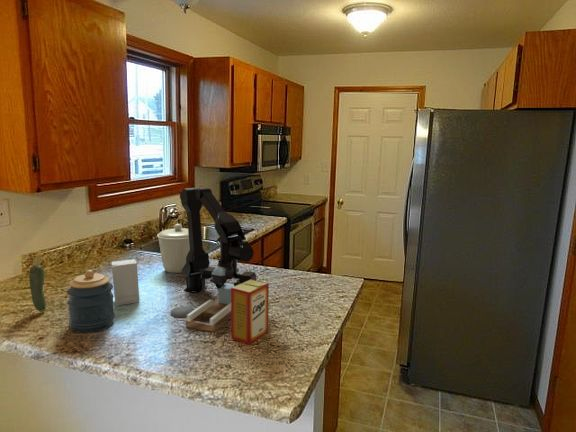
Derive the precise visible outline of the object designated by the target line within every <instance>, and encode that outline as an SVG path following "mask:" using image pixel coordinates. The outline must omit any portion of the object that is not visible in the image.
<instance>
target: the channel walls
mask: <svg viewBox="0 0 576 432" xmlns="http://www.w3.org/2000/svg"><path fill="white" fill-rule="evenodd" d="M212 302H213V299H211V298H210V299H208V300H207V301H205V302H204V303H202V304H201V305H199V306H198V307H196V308H194V309H195V310H193V311H192V312H191V313H189V314H188V315H187V317H186V320H187V321H191V320H193V319H194V318H195V317H197V316H198V315H200V314H201V313H202V312H204V311H205V310H207V309H208V308H209V307H211V306H212ZM230 311H231V303H230V304H228V305H227V306H226V307H225V308H223V309H222V310H221V311H219V312H218V313H217V314H215V315H214V316H213V317H212V318H210V325H212V326H213V325H214V324H215V323H217V322H218V321H219V320H220V319H222V318H223V317H224V316H225V315H226V314H228V313H229V312H230Z"/></svg>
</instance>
